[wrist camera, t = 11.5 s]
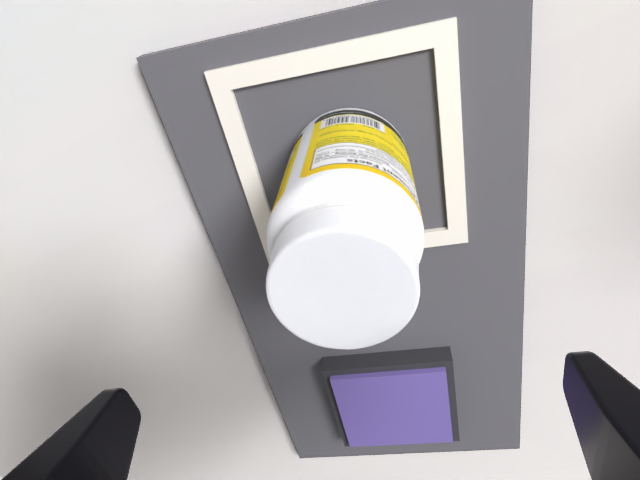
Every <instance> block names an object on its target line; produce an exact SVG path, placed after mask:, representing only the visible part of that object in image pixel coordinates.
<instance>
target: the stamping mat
mask: <svg viewBox="0 0 640 480" xmlns="http://www.w3.org/2000/svg"><path fill="white" fill-rule="evenodd" d="M532 5H533V0H379V1H374V2H370V3H365V4H361V5H357V6H352V7H348V8H344V9H339V10H335V11H331V12H326V13H322V14H318V15H313V16H309V17H305V18H300V19H296V20H292V21H287V22H283V23H279V24H274V25H270V26H266V27H261V28H257V29H253V30H248V31H244V32H240V33H235V34H231V35H227V36H222V37H218V38H214V39H209V40H205V41H201V42H196V43H192V44H188V45H183V46H179V47H175V48H170V49H166V50H162V51H157V52H153V53H149V54H144V55H142V56H140V57H138V58H136V59H137V61H138V64H139V66H140V68H141V71H142V73H143V76H144V78H145V81H146V83H147V86H148V88H149V90H150V93H151V95H152V98H153V100H154V103H155V105H156V108H157V110H158V113H159V115H160V117H161V120H162V122H163V125H164V127H165V130H166V132H167V135H168V137H169V139H170V142H171V144H172V147H173V149H174V152H175V154H176V157H177V159H178V161H179V164H180V166H181V169H182V171H183V174H184V176H185V179H186V181H187V183H188V186H189V188H190V191H191V193H192V196H193V198H194V201H195V203H196V205H197V208H198V210H199V213H200V215H201V218H202V220H203V223H204V225H205V227H206V230H207V232H208V235H209V237H210V240H211V242H212V245H213V247H214V249H215V252H216V254H217V257H218V259H219V262H220V264H221V267H222V269H223V271H224V274H225V276H226V279H227V281H228V284H229V286H230V289H231V291H232V293H233V296H234V298H235V301H236V303H237V306H238V308H239V311H240V313H241V315H242V318H243V320H244V323H245V325H246V328H247V330H248V333H249V335H250V337H251V340H252V342H253V345H254V347H255V350H256V352H257V355H258V357H259V359H260V362H261V364H262V367H263V369H264V372H265V374H266V377H267V379H268V381H269V384H270V386H271V389H272V391H273V394H274V396H275V399H276V401H277V403H278V406H279V408H280V411H281V413H282V416H283V418H284V421H285V423H286V425H287V428H288V430H289V433H290V435H291V438H292V440H293V443H294V445H295V447H296V450H297V452H298V455H299V457H300V458H314V457H336V456H359V455H382V454H404V453H427V452H450V451H473V450H495V449H518V448H520V416H521V382H522V347H523V313H524V279H525V245H526V210H527V176H528V142H529V108H530V73H531V39H532ZM341 108H358V109H364V110H368V111H371V112H373V113H375V114H377V115H379V116H381V117H383V118H384V119H386V120H387V121H388V122H389V123H390V124H392V125H393V126H394V128H395V129H396V130H397V131H398V132H399V134H400V136H401V137H402V139H403V141H404V143H405V146H406V149H407V152H408V157H409V160H410V165H411V170H412V174H413V178H414V183H415V187H416V192H417V197H418V201H419V206H420V210H421V215H422V220H423V225H424V235H425V242H424V250H423V254H422V258H421V260H420V263H419V280H420V297H419V302H418V306H417V309H416V311H415V313H414V315H413V317H412V318H411V320H410V321H409V322H408V324H407V325H406V326H405V327H404V328H403V329H402V330H401V331H400V332H398V333H397V334H396V335H394V336H393V337H391V338H389V339H388V340H386V341H384V342H381V343H378V344H376V345H373V346H369V347H365V348H359V349H350V350H346V349H333V348H326V347H321V346H318V345H314V344H312V343H310V342H307V341H305V340H303V339H301V338H299V337H298V336H296V335H294V334H293V333H292V332H290V331H289V330H288V329H287V328H286V327H285V326H284V325H283V324H282V323H281V322H280V321H279V320H278V318H277V317H276V316H275V314H274V313H273V311H272V309H271V307H270V305H269V302H268V299H267V294H266V276H267V271H268V267H269V263H270V257H269V253H268V248H267V225H268V220H269V217H270V214H271V211H272V209H273V206H274V203H275V200H276V198H277V195H278V192H279V189H280V186H281V182H282V180H283V176H284V173H285V170H286V167H287V164H288V161H289V158H290V155H291V152H292V149H293V146H294V144H295V142H296V140H297V138H298V136H299V135H300V133H301V132H302V131H303V129H304V128H305V127H306V126H307V125H308V124H309V123H310V122H311V121H313V120H314V119H315V118H317V117H319V116H320V115H322V114H324V113H327V112H329V111H332V110H336V109H341Z"/></svg>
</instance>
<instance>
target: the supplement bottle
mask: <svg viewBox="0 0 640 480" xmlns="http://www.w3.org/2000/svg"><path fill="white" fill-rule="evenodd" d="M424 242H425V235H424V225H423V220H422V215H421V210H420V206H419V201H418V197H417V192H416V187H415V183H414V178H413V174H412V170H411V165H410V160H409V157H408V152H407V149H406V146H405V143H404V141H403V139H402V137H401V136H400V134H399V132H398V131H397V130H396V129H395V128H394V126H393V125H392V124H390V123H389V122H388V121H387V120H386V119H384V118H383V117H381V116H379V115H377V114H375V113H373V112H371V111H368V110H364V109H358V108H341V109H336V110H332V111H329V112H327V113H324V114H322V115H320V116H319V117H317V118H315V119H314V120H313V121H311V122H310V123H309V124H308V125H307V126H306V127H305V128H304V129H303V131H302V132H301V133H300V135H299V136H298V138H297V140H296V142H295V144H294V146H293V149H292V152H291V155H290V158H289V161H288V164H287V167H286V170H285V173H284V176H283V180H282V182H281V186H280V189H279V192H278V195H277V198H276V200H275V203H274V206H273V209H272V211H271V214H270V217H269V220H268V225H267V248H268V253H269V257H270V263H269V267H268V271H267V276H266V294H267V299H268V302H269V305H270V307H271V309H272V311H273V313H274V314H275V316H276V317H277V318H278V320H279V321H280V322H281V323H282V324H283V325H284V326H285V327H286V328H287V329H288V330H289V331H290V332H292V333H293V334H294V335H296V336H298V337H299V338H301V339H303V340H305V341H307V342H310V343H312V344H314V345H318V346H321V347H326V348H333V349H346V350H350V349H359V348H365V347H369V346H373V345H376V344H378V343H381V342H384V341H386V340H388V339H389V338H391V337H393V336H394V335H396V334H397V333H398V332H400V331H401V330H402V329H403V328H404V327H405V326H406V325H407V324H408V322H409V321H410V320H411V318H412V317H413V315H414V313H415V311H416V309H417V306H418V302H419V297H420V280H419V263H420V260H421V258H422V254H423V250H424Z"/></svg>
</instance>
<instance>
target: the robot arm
mask: <svg viewBox="0 0 640 480" xmlns="http://www.w3.org/2000/svg"><path fill="white" fill-rule="evenodd" d="M563 389H564V394H565V397H566V400H567V403H568V407H569V410H570V413H571V416H572V419H573V423H574V426H575V429H576V432H577V435H578V438H579V442H580V445H581V448H582V451H583V454H584V457H585V461H586V464H587V467H588V470H589V473H590V476H591V479H592V480H640V389H638V388H637V387H636V386H635V385H633V384H632V383H631V382H630V381H628V380H627V379H626V378H625V377H623V376H622V375H621V374H620V373H618V372H617V371H616V370H615V369H613V368H612V367H611V366H610V365H608V364H607V363H606V362H605V361H604V360H602V359H601V358H600V357H599V356H597V355H596V354H595V353H593V352H590V351H584V352H571V353H568V354H567V355H566V358H565V367H564V376H563ZM140 421H141V414H140V411H139V409H138V407H137V406H136V404H135V403H134V401H133V400H132V398H131V397H130V395H129V394H128V392H127V391H126V390H125V389H123V388H114V389H106V390H104V391H102V392H101V393H100V394H99V395H97V396H96V397H95V398H94V399H93V400H92V401H91V402H89V403H88V404H87V405H86V406H85V407H84V408H83V409H81V410H80V411H79V412H78V413H77V414H76V415H75V416H74V417H72V418H71V419H70V420H69V421H68V422H67V423H66V424H64V425H63V426H62V427H61V428H60V429H59V430H58V431H56V432H55V433H54V434H53V435H52V436H51V437H50V438H48V439H47V440H46V441H45V442H44V443H43V444H42V445H40V446H39V447H38V448H37V449H36V450H35V451H34V452H33V453H31V454H30V455H29V456H28V457H27V458H26V459H25V460H23V461H22V462H21V463H20V464H19V465H18V466H17V467H15V468H14V469H13V470H12V471H11V472H10V473H9V474H7V475H6V476H5V477H4V478H3V479H2V480H127V477H128V473H129V469H130V465H131V460H132V456H133V452H134V447H135V443H136V439H137V435H138V430H139V426H140Z"/></svg>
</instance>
